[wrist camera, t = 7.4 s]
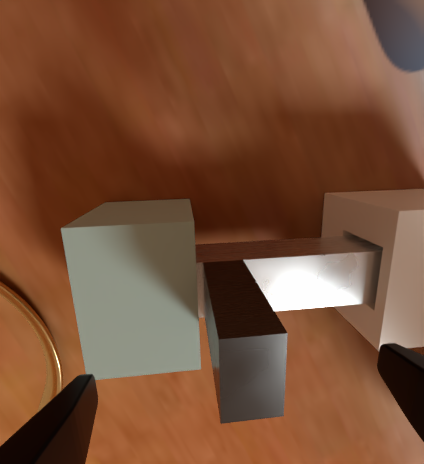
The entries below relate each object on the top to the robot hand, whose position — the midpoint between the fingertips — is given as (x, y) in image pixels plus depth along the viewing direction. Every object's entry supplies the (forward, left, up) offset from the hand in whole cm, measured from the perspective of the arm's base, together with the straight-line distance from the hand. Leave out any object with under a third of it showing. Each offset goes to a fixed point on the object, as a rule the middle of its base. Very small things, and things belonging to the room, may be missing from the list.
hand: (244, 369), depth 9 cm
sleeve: (-12, 0, -12) cm, 17 cm away
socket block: (+4, 0, -12) cm, 12 cm away
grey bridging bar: (-3, 0, -9) cm, 9 cm away
